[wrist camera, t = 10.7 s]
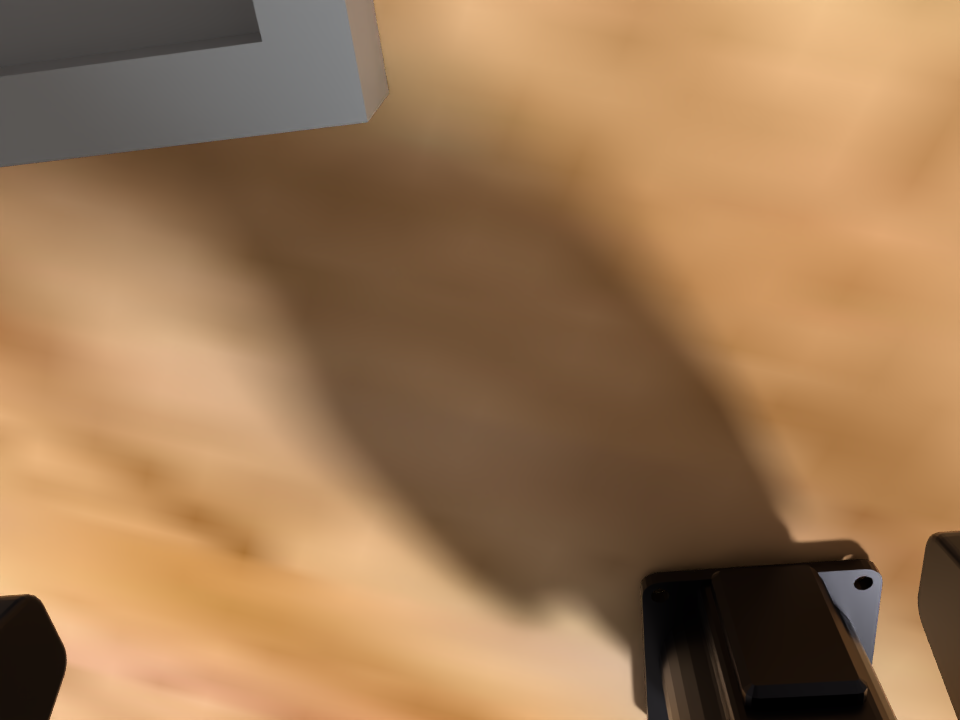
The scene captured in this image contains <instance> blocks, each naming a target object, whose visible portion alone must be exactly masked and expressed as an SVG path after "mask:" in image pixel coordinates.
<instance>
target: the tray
mask: <svg viewBox="0 0 960 720" xmlns="http://www.w3.org/2000/svg"><path fill="white" fill-rule="evenodd" d="M388 94H389V89H388V84H387V78H386V72H385V66H384V60H383V55H382V49H381V43H380V37H379V32H378V26H377V20H376V14H375V8H374V3H373V0H0V167H6V166H14V165H22V164H31V163H39V162H47V161H55V160H63V159H72V158H80V157H88V156H96V155H104V154H112V153H121V152H129V151H137V150H145V149H153V148H162V147H170V146H178V145H186V144H194V143H202V142H211V141H219V140H227V139H235V138H243V137H252V136H260V135H268V134H276V133H284V132H292V131H301V130H309V129H317V128H325V127H333V126H342V125H350V124H358V123H366V122H368V121H369V120H370V119H371V117H372V116H373V115H374V113H375V112H376V111H377V109H378V108H379V107H380V105H381V104H382V102H383V101H384V100H385V98H386V97H387V96H388Z"/></svg>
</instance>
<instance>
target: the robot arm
mask: <svg viewBox="0 0 960 720" xmlns="http://www.w3.org/2000/svg"><path fill="white" fill-rule="evenodd" d="M862 576H866V577H864V578H863V579H860V580H856V579H858V578H859V577H862ZM658 589H664V591H663V592H659V593H657V592H654V591H655V590H658ZM881 590H882V576H881V575H880V573H879V571H878V569H877V567H876V566H875V565H874V563H873V562H871V561H868V560H863V559H856V560H840V561H825V562H810V563H794V564H779V565H764V566H749V567H733V568H718V569H703V570H687V571H672V572H657V573H653V574H650V575H648V576H646V577H645V578H644V579H643V580H642V582H641V586H640V591H641V611H642V631H643V651H644V670H645V690H646V710H647V720H897V718H896V716H895V714H894V712H893V710H892V708H891V706H890V703H889V701H888V699H887V697H886V695H885V693H884V691H883V688H882V686H881V684H880V682H879V680H878V678H877V676H876V673H875V671H874V669H873V667H872V660H873V652H874V644H875V637H876V629H877V621H878V613H879V605H880V598H881ZM918 609H919V615H920V619H921V622H922V625H923V628H924V631H925V633H926V636H927V639H928V641H929V644H930V647H931V649H932V652H933V655H934V657H935V660H936V663H937V665H938V668H939V671H940V673H941V676H942V679H943V681H944V684H945V687H946V689H947V692H948V695H949V697H950V700H951V703H952V705H953V708H954V710H955V713H956V716H957V718H958V720H960V531H950V532H938V533H935V534H933V535H931V536H930V537H929V539H928V541H927V544H926V547H925V554H924V560H923V567H922V573H921V580H920V586H919V593H918ZM66 664H67V659H66V651H65V647H64V645H63V643H62V641H61V639H60V637H59V635H58V633H57V631H56V629H55V627H54V625H53V623H52V621H51V619H50V617H49V615H48V613H47V611H46V609H45V607H44V605H43V603H42V602H41V600H39V599H38V598H37V597H36V596H34V595H30V594H23V595H8V596H0V720H50V717H51V714H52V711H53V708H54V705H55V702H56V699H57V696H58V693H59V690H60V687H61V684H62V681H63V678H64V675H65V670H66Z"/></svg>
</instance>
